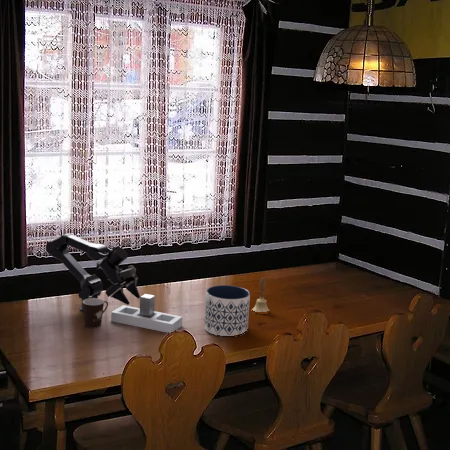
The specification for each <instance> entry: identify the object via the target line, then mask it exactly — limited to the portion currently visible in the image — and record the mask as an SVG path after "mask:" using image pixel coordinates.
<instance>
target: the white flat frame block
mask: <svg viewBox="0 0 450 450" xmlns="http://www.w3.org/2000/svg"><path fill="white" fill-rule="evenodd" d="M110 313H111V315H110V317H111V318H110V319H111V320H110V321H111V322H114V323H118V324H122V325H129V326H134V327H136V328H137V327H139V328H144V329H148V330H153V331H157V332H163V333H167V334H171V333H170V332H172V331H175V330H176V331H177V330H179V329H180V328H181V327H182V326H183V316H182V315H180V316H179V315H175V314H171V313H165V312H160V311H155V310H154V316H153V317H151V318H147V317H142V316H140V307H135V306H131V305H130V306H129V305H126V304H125V305H124V304H122V305H121V306H119V307H117V308H116V309H114V310H113V311H111V312H110ZM168 332H169V333H168Z"/></svg>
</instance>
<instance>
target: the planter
mask: <svg viewBox="0 0 450 450" xmlns="http://www.w3.org/2000/svg"><path fill="white" fill-rule="evenodd" d="M250 298H251V292H250V291H249V290H248V289H246V288H244V287H240V286H237V285H235V286H234V285H227V284H225V285H224V284H223V285H222V284H221V285H213V286H211V287H208V288H207V289H206V292H205V302H204V303H205V307H204V323H203V328H204V330H205V331H206V332H207V333H208V334H211V335H213V334H214V336H217V335H220V336H219V337H222V336H234V335H238V334H242V333H244V332H245V331H247V332H248V330H247V329H249V316H250V303H251V301H250V300H251V299H250ZM244 334H245V333H244ZM242 335H243V334H242Z"/></svg>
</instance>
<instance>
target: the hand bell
mask: <svg viewBox="0 0 450 450" xmlns="http://www.w3.org/2000/svg"><path fill="white" fill-rule="evenodd" d="M265 279H266V278H265V277H261V279H260V280H259V290H260V294H259V298H257V299H256V302H255V305H254V307H253V308H252V309H251V311H252V310H253V311H255V312H267V311H270V309H269V307H268V304H267V302H268V301H267V300H266V299H265V297H264V296H265V295H264V294H265V289H266V280H265Z"/></svg>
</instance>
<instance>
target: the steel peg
mask: <svg viewBox="0 0 450 450" xmlns="http://www.w3.org/2000/svg"><path fill="white" fill-rule="evenodd" d="M155 297H156V296H155V295H153V294H148V293H144V294H143V295H141V296H140V298H139V308H140V316H142V317H147V318H151V317H153V316H154V311H155V305H156V304H155V301H156V298H155Z"/></svg>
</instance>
